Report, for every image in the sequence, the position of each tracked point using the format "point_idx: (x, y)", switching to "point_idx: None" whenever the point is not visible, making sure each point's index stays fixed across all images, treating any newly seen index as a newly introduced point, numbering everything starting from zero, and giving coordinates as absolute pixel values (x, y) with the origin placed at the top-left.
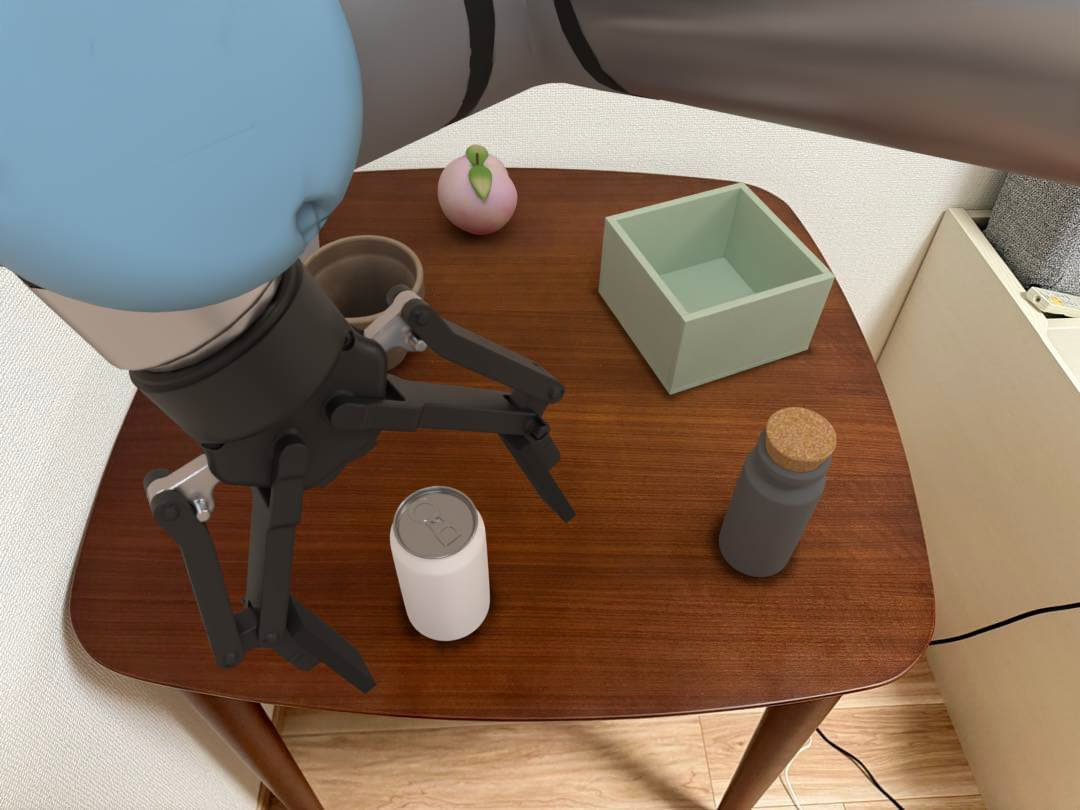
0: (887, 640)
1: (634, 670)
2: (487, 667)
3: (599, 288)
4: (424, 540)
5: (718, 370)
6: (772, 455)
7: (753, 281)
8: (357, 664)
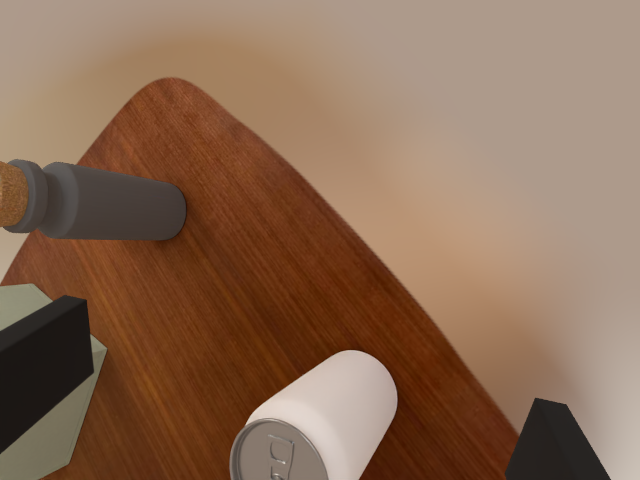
0: (166, 94)
1: (294, 214)
2: (377, 317)
3: (64, 465)
4: (304, 473)
5: None
6: (19, 204)
7: None
8: (549, 465)
